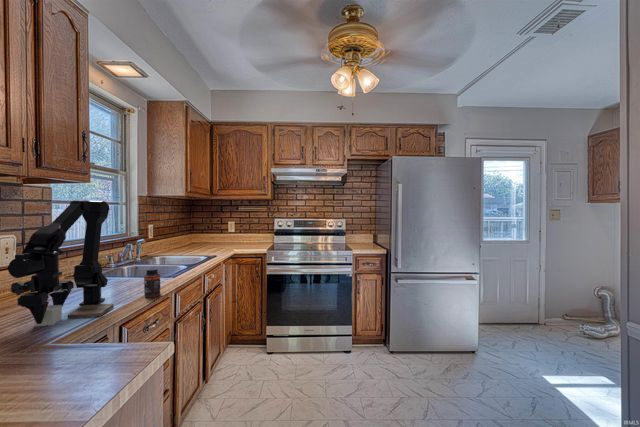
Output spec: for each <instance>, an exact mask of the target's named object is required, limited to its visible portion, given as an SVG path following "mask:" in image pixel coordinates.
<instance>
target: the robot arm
mask: <svg viewBox="0 0 640 427" xmlns="http://www.w3.org/2000/svg"><path fill="white" fill-rule="evenodd" d="M109 212H110V205H109V204H108V203H107V201H105V200H86V199H74V200H71V201H70V203H69V205H68V206H67V207H66V208H65V209H64V210H62V212H61V213H60V214H59V215H58V216H57V217H56V218H55V219H54V220H53V221H52V222H51V223H50V224H47V225H45V226H43V227H41V228H39V229H37V230H36V231H35V232H33V233H32V234H31V235H30V238H29V239H28V241H27V243H26V245H25V246H24V248H23V250H22V252H21V253H17V254H15V255H14V259H12V260H11V261H10V262H9V264H8V266H7V270H8V273H9V274H10V276H11V277H13V278H16V279H19V278H21V279H22V278H25V277H28V276H31V277H30V280H28V281H25V282H23V281H21V280H18V281H17V282H13V283H11V285H10V286H11V287H10V292H11V293H13V294H15V295H16V296H17V299H16V300H17V301H16V303H17V304H16V305H17V306H18V307H19V306H20V307H22V308H26V309H28V310H29V311H30V313H31V314H32V317H33V320H34V319H35V321H36V323H37V324H41V323H42V321H43V318H44V315H45V312H46V309H47V306H49V296H50V297H51V299H52V305H62V307H63V306H64V304H65V302H66V300H67V299H68V297H69V295H70V293H71V292H72V290H73V289H74V287H76V289H82V301H81V302H80V303H78V305H79V306H83V305H98V304H101V303H102V302H104V301H105V300H106V298H105V297H102V288H105V287H106V286H107V285H108V278H107V277H106V276H105V275H104V274H103V267H102V265H101V263H100V262H99V253H100V244H101V236H102V229H103V228H102V226H103V224H104V222H106V220H107V218H108V217H109V216H108V215H109ZM81 216H82V218H83V220H84V222H85V224H86V225H85V231H84V240H83V251H82V258H81V261H80V262H79V263H78V265H77V264H76V265H75V266H74V267H73V268H74V271H73V272H74V273H73V275H72V277H73V280H74V282H73V281H72V280H69V279H68V280H60V276H62V275H63V271H60V266H59V265H60V264H59V260H60V258H59V255H64V251H62V250H61V249H60V248H61V246H62V245H63V244H64V242H65V240H66V238H67V236H66V234H67V232H68V231H69V230H70V229H71V227H73V225H74V224H75V223H76V222H77V221H78V220H79V219H80V218H81ZM74 283H75V284H74ZM74 285H75V286H74ZM21 294H22V295H21ZM18 296H19V297H18Z"/></svg>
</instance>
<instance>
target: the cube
mask: <svg viewBox="0 0 640 427" xmlns="http://www.w3.org/2000/svg"><path fill="white" fill-rule="evenodd" d="M62 309H63V306H62V305H53V304H52V305H49V304H48V306H47V309H46V312H45V315H44V318H43V321H42V323H41V324H37V323H36V321H35V319H34V318H33V320H34V321H33V322H34V324H33V325H34V327H44V326H46V325H48V326H54V325H56V324H57V323H58V321H59V322H60V321H62V320H61V319H63V311H62ZM56 322H57V323H56ZM53 324H54V325H53ZM46 327H47V326H46Z"/></svg>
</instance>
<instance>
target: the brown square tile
mask: <svg viewBox="0 0 640 427" xmlns="http://www.w3.org/2000/svg"><path fill="white" fill-rule="evenodd" d="M112 307H113V308H115V306H114V303H103V304H102V303H99V304H92V305H80V307H78V308H76V309H75V310H73V311H72V312H70V313H68V314H67V319H79V318H78V317H84V318H93V317H92V316H101V317H102V315H103V314H104V313H105V314H107V313H108V312H109V311H110V310H112V309H113V308H112ZM111 308H112V309H111ZM109 309H110V310H109ZM108 310H109V311H108ZM107 311H108V312H107ZM105 314H104V315H105ZM104 315H103V316H104Z"/></svg>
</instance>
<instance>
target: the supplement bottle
mask: <svg viewBox="0 0 640 427" xmlns="http://www.w3.org/2000/svg"><path fill="white" fill-rule="evenodd" d="M143 282H144V284H143V288H144V290H143V291H144V293H143V294H144V297H145V298H146V299H147V298H149V299H151V298H156V297H159V296H160V295H161V274H160V273H159V272H158V268H156V267H155V268H153V267H151V268H147V269H146V274H145V275H144V276H143Z"/></svg>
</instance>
